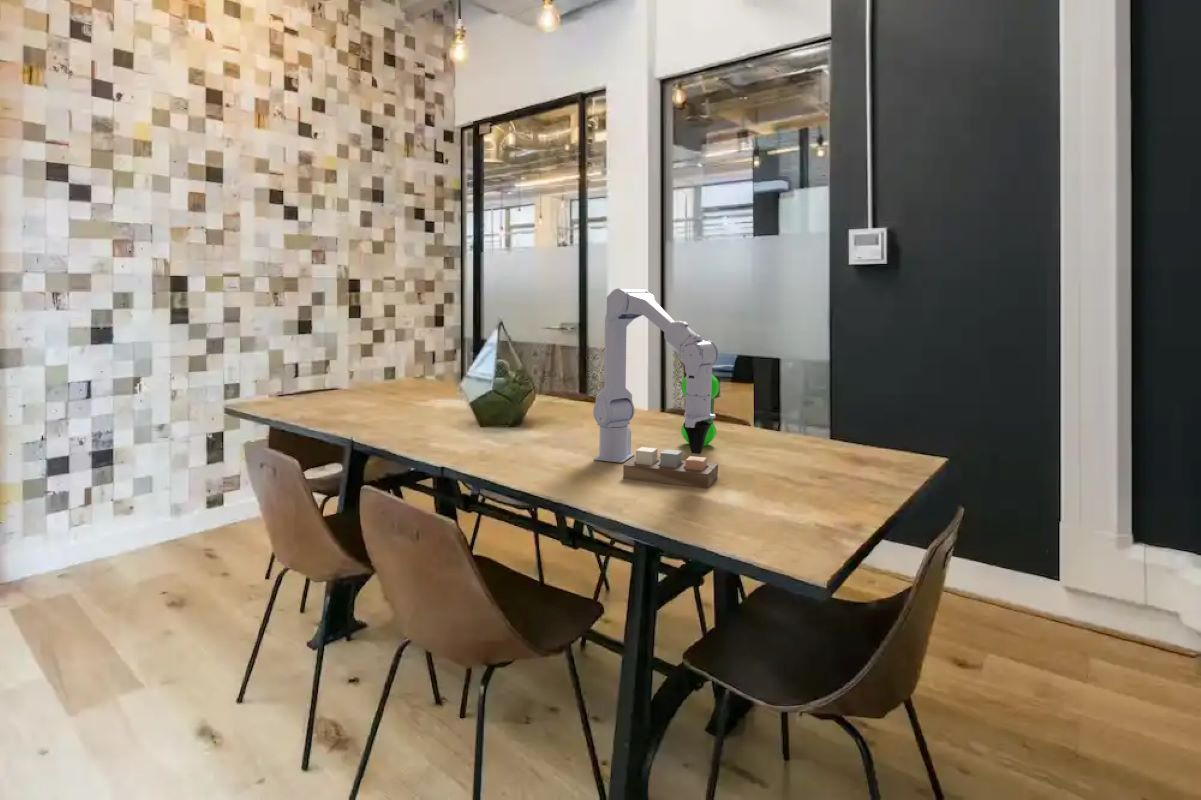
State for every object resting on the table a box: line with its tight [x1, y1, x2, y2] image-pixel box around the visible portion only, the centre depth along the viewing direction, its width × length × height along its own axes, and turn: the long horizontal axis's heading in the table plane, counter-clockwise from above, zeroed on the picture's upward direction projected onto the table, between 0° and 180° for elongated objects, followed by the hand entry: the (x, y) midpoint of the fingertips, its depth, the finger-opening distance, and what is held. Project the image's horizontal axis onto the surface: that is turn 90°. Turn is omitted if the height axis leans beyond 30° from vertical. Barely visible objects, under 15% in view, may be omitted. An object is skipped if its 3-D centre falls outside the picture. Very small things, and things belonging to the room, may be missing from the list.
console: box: [622, 456, 719, 489], centre depth 167 cm, size 10×20×3 cm, turn 68°
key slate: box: [659, 449, 683, 468], centre depth 166 cm, size 4×4×4 cm
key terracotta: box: [685, 455, 708, 471], centre depth 164 cm, size 4×4×4 cm
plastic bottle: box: [680, 373, 720, 447], centre depth 201 cm, size 10×10×25 cm
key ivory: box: [635, 446, 658, 465], centre depth 168 cm, size 4×4×4 cm
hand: (696, 453), depth 164 cm, fingers closed
